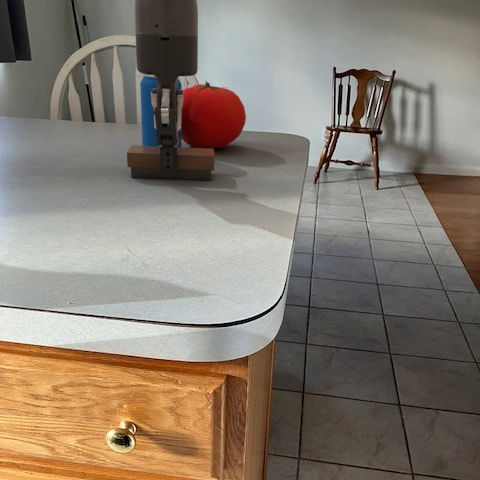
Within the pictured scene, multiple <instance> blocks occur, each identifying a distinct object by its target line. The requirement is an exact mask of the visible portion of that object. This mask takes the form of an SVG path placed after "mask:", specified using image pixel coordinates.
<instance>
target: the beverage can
mask: <svg viewBox="0 0 480 480" xmlns="http://www.w3.org/2000/svg"><path fill="white" fill-rule="evenodd" d="M177 78H178V90H182V83H181V81H180V79H179V77H177ZM139 87H140V90H139V91H140V116H141V143H142V144H141V146H159V145H158V143H157V132H156V129H155V127H154V108H153V106H152V104H151V91H153V89H157V78H156V76H154V75H147V74H142V79H141V80H140V85H139ZM179 132H180V135H179V138H178V139H179V145H178V147H182V139H181V129H180V130H179Z"/></svg>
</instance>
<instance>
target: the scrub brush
mask: <svg viewBox="0 0 480 480" xmlns="http://www.w3.org/2000/svg"><path fill="white" fill-rule="evenodd" d="M126 162H127V163H126V165H127V166H126V167H127V168H130V178H137V179H157V180H158V179H159V180H185V181H206V182H207V181H211V180H212V171H215V148H212V149H206V148H196V147H182V146H181V147H178V148H177V175H176V176H162V175H161V170H160V147H159V146H142V145H137V144H136V145H134V144H131V145H130V146H129V148H128V150H127V152H126Z"/></svg>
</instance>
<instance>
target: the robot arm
mask: <svg viewBox="0 0 480 480" xmlns="http://www.w3.org/2000/svg"><path fill="white" fill-rule="evenodd" d="M198 6H199V5H198V0H134V26H135V27H134V28H135V50H136V51H135V53H136V54H135V55H136V56H135V57H136V70H137V72H138V73H140V74H141V75H143V74H147V75H154V76H156V78H157V89H153V91H151V104H152V106H153V108H154V127H155V129H156V132H157V143H158V145H159V147H160V170H161V175H162V176H176V175H177V148H178V145H179V139H178V138H179V135H180V132H179V130H180V129H181V125H182V106H183V102H184V89H181V90H178V79H179V77H193V76H195V75H197V73H198V69H199V68H198V67H199V66H198V63H199V61H198V60H199V54H198V53H199V8H198ZM177 77H178V78H177Z"/></svg>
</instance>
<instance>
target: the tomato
mask: <svg viewBox="0 0 480 480" xmlns="http://www.w3.org/2000/svg"><path fill="white" fill-rule="evenodd" d="M183 90H184V102H183V106H182V125H181V141H183V142H184V143H185V144H187V145H188V146H191V147H192V148H206V149H221V148H223V147H226V146H228V145H230V144H231V143H232V142H234V141H236V139H238V138H239V137H240V136H241V133H242V132H243V130H244V127H245V125H246V121H247V113H246V109H245V105H244V104H243V102H242V100H241V98H240V97H239V96H238V94H236V93H235V92H234V91H233V90H231V89H229V88H226V87H220V86H219V87H218V86H214V85H211V83H210V82H208V81H207V80H205V84H203V83H202V84H196V85H193V86H191V87H186V88H184V89H183Z"/></svg>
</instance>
